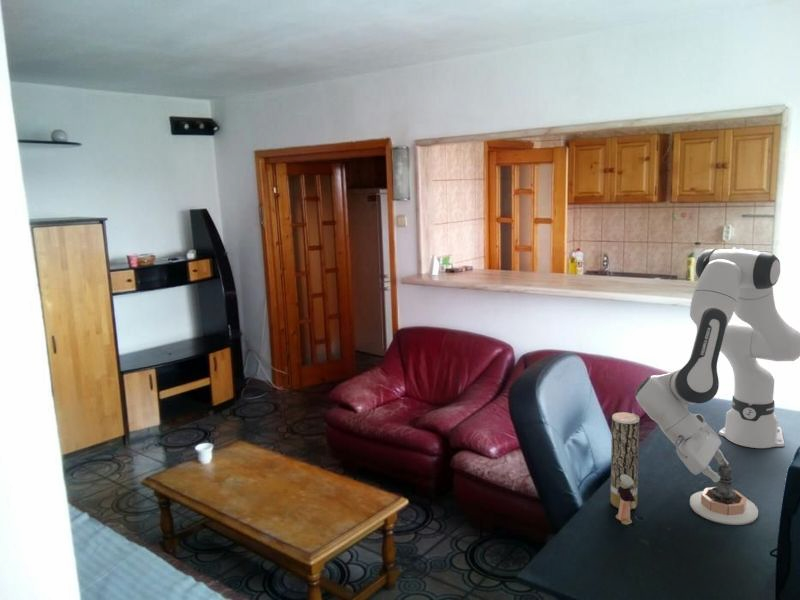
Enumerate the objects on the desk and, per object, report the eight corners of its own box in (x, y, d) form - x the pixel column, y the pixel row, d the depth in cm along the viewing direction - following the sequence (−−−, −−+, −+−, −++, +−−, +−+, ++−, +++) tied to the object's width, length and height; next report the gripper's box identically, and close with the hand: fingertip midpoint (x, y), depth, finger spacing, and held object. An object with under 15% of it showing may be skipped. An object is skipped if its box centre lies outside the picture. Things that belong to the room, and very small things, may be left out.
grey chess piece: (738, 511, 162) (741, 468, 160) (713, 509, 163) (715, 466, 161) (732, 500, 167) (734, 458, 165) (708, 498, 169) (710, 456, 167)
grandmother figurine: (608, 515, 164) (609, 470, 162) (619, 512, 166) (620, 467, 164) (629, 530, 157) (631, 483, 155) (641, 526, 159) (642, 479, 157)
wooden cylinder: (606, 505, 169) (607, 418, 165) (617, 495, 174) (618, 410, 170) (630, 513, 165) (633, 423, 160) (641, 503, 170) (643, 416, 165)
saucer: (698, 488, 176) (698, 476, 176) (762, 504, 167) (763, 491, 166) (682, 512, 164) (683, 500, 163) (751, 531, 154) (752, 518, 154)
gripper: (682, 437, 158) (723, 483, 154) (702, 412, 174) (739, 453, 170) (663, 450, 162) (703, 495, 158) (684, 424, 178) (721, 464, 174)
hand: (722, 473), depth 164 cm, fingers open, 8 cm apart
